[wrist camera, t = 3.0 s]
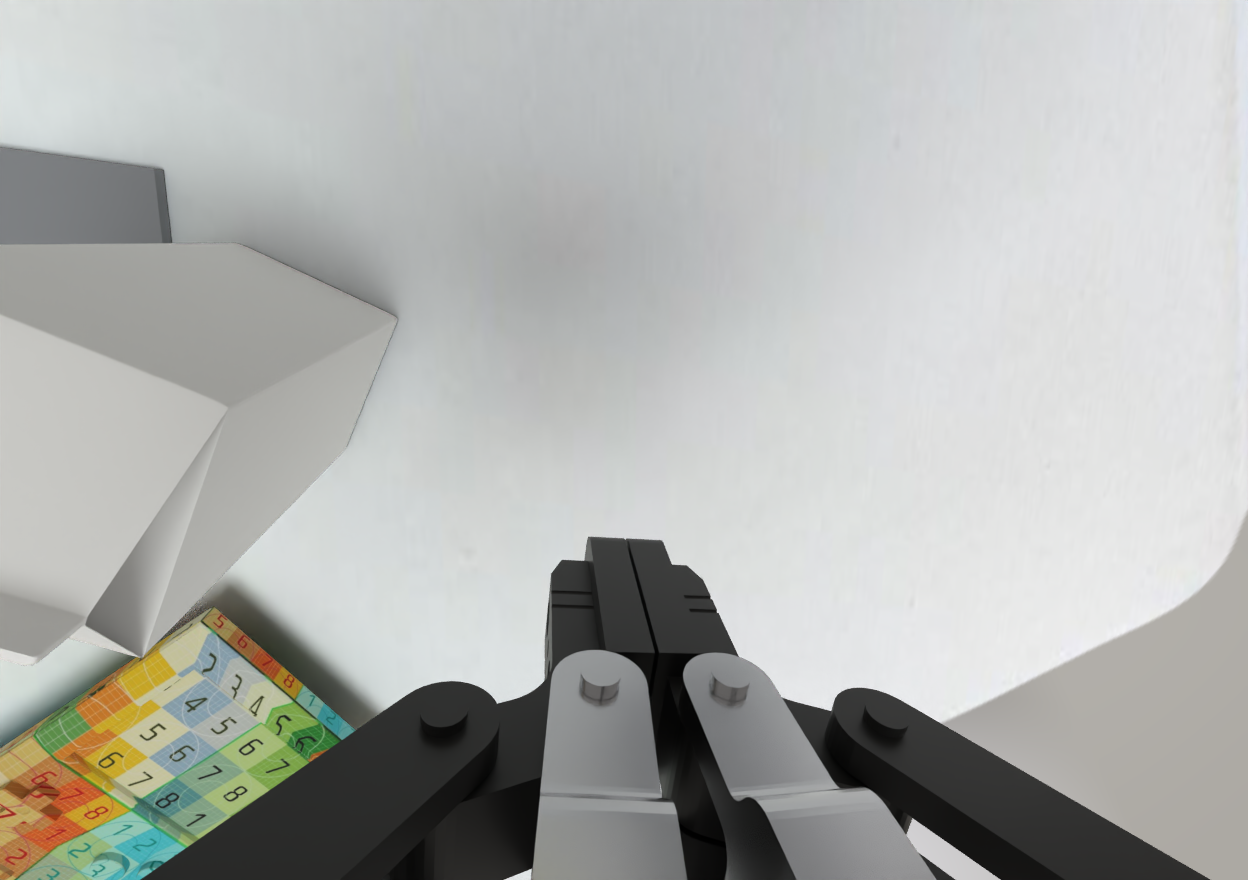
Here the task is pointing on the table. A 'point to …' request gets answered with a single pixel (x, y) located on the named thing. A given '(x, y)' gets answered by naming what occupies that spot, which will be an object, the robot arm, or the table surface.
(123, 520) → the milk carton
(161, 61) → the table surface
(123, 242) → the mat
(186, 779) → the puzzle game
